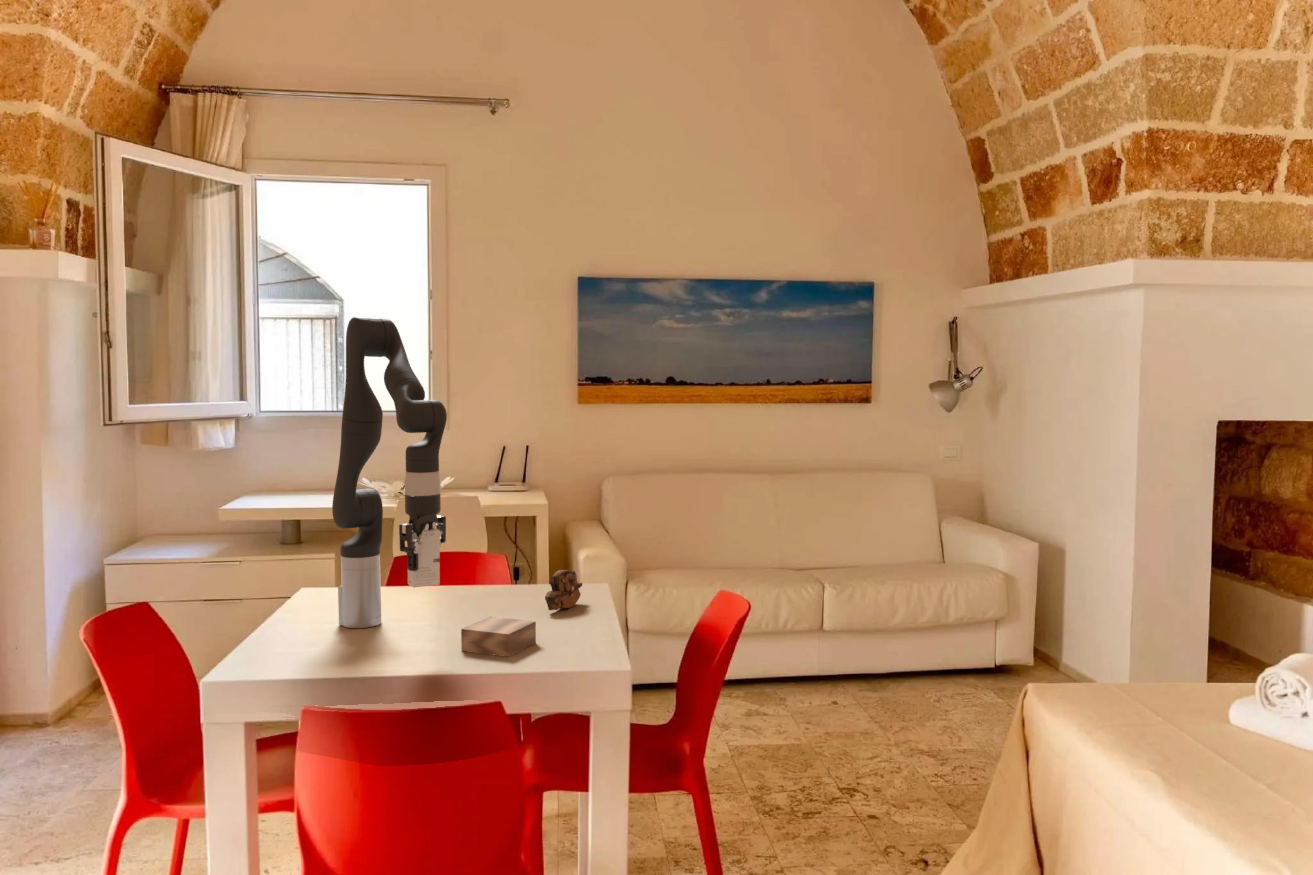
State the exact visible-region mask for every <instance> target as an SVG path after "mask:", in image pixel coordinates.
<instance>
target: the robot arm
mask: <svg viewBox="0 0 1313 875" xmlns="http://www.w3.org/2000/svg"><path fill="white" fill-rule="evenodd" d="M345 335H346V336H345V384H344V385H345V388H344V398H343V406H342V408H343V409H342V416H341V427H340V428H341V429H340V430H341V432H340V433H341V434H340V446H339V447H340V449H339V450H340V451H339V458H338V459H339V460H338V467H337V473H336V474H337V475H336V480H335V486H334V490H333V498H332V510H331V511H332V512H331V513H332V518H333V522H334V524H335V525H336V526H337V528H339V529H341V530H342V529H343V530H345V529H355V528H358V531H357V532H356V533H355V534H354V535H353V536H352V537H351V538H349V539H347V540H346V541H344V542H343V543H342V544H341V546H340V575H341V578H340V579H341V580H340V581H341V585H338V588H337V596H338V598H337V599H338V601H337V602H338V625H340V626H343V627H344V628H348V629H365V628H371V627H375V626H376V627H377V626H379V625H381V624H382V589H381V588H382V587H381V586H382V585H381V581H382V580H381V545H382V542H383V520H384V519H383V517H384V514H383V511H384V510H383V509H384V508H383V501H382V496H381V495H380V493H379V491H377V490H376V489H374V488H357V487H358V482H359V478H360V475H361V472H362V470H363V468H364V466H365V465H366V463H368V460H369V459H370V458H371V457H372V455H373V453H374V451H376V449H377V447H378V446H379V443H380V442H381V437H382V430H383V429H382V428H383V416H384V415H383V414H384V413H383V408H382V407H381V403H380V402H379V400H378V398H377V396H376V395H375V392H374V391H373V389H372V387H371V385H370V383H369V381H368V379H367V375H366V370H365V357H371V358H372V357H374V358H375V357H376V358H382V357H385V358H386V359H387V360H388V364H387V366H386V368H385V369H384V370H385V371H384V372H383V373H384V374H383V382H384V385H385V388H386V391H387V392H388V393H389V395H390V397H391V399H392V400H393V404H394V408H395V417H396V418H395V419H396V423H397V426H398V427H399V429H400V430H402V431H403V432H404V433H407V434H418V433H419V434H420V433H422V434H423V433H425V435H424V437H423V439H422V440H421V441H419V442H415V443H413V444H409V445H408V446H407V447H406V449H405V477H404V478H405V479H404V512H405V514H406V515H408V517H409V520H408V523H400V524H399V526H398V528H399V529H398V531H399V533H398V534H399V550H400V552H404V553H405V554H406V558H407V559H406V561H407V562H406V563H407V564H406V566H407V571H408V570H409V571H417V570H418V554H417V552H418V549H419V546H420V545H421V544H422V543H423V540H424V537H425V534H426V532H427V531H428V530H434V529H437V530H439V531H440V547H441V546H442V545H443V543H444V544H445V543H446V540H447V538H446V537H447V534H446V533H447V518H446V516H444V515H439V514H440V513H441V510H442V509H441V508H442V506H441V503H442V502H441V500H442V499H441V479H440V457H439V456H440V449H441V443H442V439H443V436H444V431H445V428H446V424H447V418H448V417H447V416H448V415H447V410H446V407H445V405H444V404H443V402H441V401H440V400H437V399H425V398H426V392H425V389H424V387H423V384H422V383H421V381H420V380H419V379H418V377H417V375H416V374H415V372H414V370H413V369H412V367H411V366H412V365H411V364H410V362H409V359H408V356H407V352H406V349H405V346H404V343H403V340H402V338H401V335H400V332H399V330H398V328H397V326H396V324H395V323H394V322H393V321H392V320H391V319H389V318H384V317H369V316H368V317H367V316H352V318H350V320H349V322H348V324H347V328H346V334H345ZM413 532H416V534H417V536H418V537H419V538H417V539H413V538H412V534H413ZM406 542H407V543H406ZM413 543H415V545H414V548H413Z"/></svg>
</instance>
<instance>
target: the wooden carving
mask: <svg viewBox="0 0 1313 875" xmlns="http://www.w3.org/2000/svg"><path fill="white" fill-rule="evenodd" d="M577 579H578V577H577V574H576V571H575V570H569V569H559V570H556V571H555V573H554V574H553V575H551V576H550V580H549V585H550V587H551V590H549V591H548V592H546V595H545V597H544V600H545V602H546V605H547V608H548V611H557V610H559V609H571V608H573V606H574V605H576V604H577V602H578V601H579V599H580V597H581V596H582V595H581V594H582V593H581V592H580V588H582V587H583V582H578V580H577Z"/></svg>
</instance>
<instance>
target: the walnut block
mask: <svg viewBox="0 0 1313 875" xmlns="http://www.w3.org/2000/svg"><path fill="white" fill-rule="evenodd" d="M536 624H537V622H536V620H525V619H517V618H516V619H514V618H505V617H497V616H488V617H486V618H484V619H482V620H479V621H476V622H474V623H472V624H469V625H468V626H464V627H463V628H461V629H460V633H461V634H460V637H461V642H460V643H461V652H464V651H468V652H467V653H472V652H473V654H481V653H482V654H483V655H489V654H492V655H491V656H497V655H501V656H500V657H505V656H509V657H511V656H513V655H515V654H518V653H519V652H521V651H523V650H525V649H527V648H529V647H531V646H533V645H535V644H536V643H537V638H536V637H537V635H536V634H537V633H536V632H537V630H536V628H537V627H536ZM530 645H531V646H530ZM528 646H529V647H528ZM526 647H527V648H526ZM522 649H523V650H522ZM518 651H519V652H518ZM514 653H515V654H514ZM493 654H495V655H493ZM512 654H513V655H512ZM510 655H511V656H510Z"/></svg>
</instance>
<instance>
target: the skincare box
mask: <svg viewBox="0 0 1313 875" xmlns="http://www.w3.org/2000/svg"><path fill="white" fill-rule="evenodd" d="M440 537H441V532H440V531H439V530H437V529H434V530H428V531H427V532H426V534H425V537H424V540H423V543H422V544H421V545H420V546H419V549H418V552H417V554H418V570H417V571H409V570H408V569H407V585H409V586H410V587H412V588H414V589H415V588H422V587H430V586H431V587H433V586H439V585H440V583H441V581H440V580H441V578H440V577H441V573H440V572H441V570H440V569H441V567H440V563H441V561H440V560H441V557H440V554H441V552H440V547H441V546H440ZM412 538H413V539H417V538H419V537H418V536H417V534H416V532H413V534H412ZM414 545H415V543H413V548H414Z"/></svg>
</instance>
